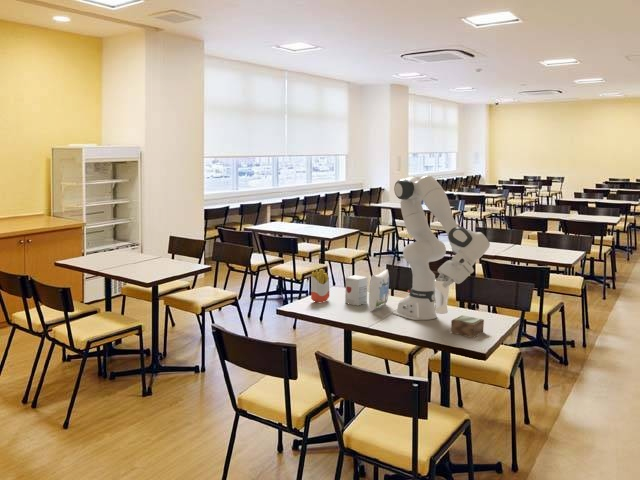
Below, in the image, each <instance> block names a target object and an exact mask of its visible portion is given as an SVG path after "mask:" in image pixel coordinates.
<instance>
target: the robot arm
mask: <svg viewBox="0 0 640 480" xmlns="http://www.w3.org/2000/svg"><path fill="white" fill-rule="evenodd" d="M393 187H394V188H393V191H394V194H395V197H396V198H397V199H399V200H400V203H399V204H400V211H401V215H402V216H401V217H402V218H403V223H404V225H405V229H406V232H407V234H408V235H410V236H411V237H413V239H414V240H415V241H414V242H411V243H408V244H407V245H405V246H404V248H403V252H402V255H403V258H404V260H405V261H406V262H407V263H408V265H409V266H410V269H411V273H412V287H411V288H410V289H407V293H409V294H408V295H407V296H405V297H404V298H402V299H401V300H400V301H399V302H398V304H397V309H394V310H393V311H392V314H393V315H395V316H399V317H402V318H406V319H409V320H412V321H418V320H419V321H420V320H421V321H422V320H423V321H425V320H428V321H429V320H433V319H436V318H437V313H435V312H434V309H435V298H434V279H436V274H435V273H434V272H433V270H431V269H430V263H432V262H436V261H439V260H442V259H443V258H444V257H445V255H446V253H447V247H446V245H445V243H444V242H442V241H441V240H440V239H438V237H436V235H435V233H434V232H433V231H432V229H431V227H430V226H429V223H428V219H427V217H426V214H425V211H424V208H423V205H422V202H423V204H424V205H425V206H426V208H427V209H428V210H429V212H430V213H431V214H432V215H433V216H434V217H435V218H436V220H437V221H438V222H439V223H440V225H441V226H442V227H443V230H444V231H445V233H446V234H447V238H448V242H449V245H450V247H451V251H452V252H453V254H454V256H452V258H451V259H449V260H446V261H445V262H444V263H442V264H441V265H440V266H439V267H438V269H437V272H438V273H439V275H438V277H437V278H446V279H448V281H446V282H444V283H443V284H442V286H443V287H445V288H446V287H447V286H448V285H449V286H450V285H452V284H454V283H455V284H456V285H459V284H460V285H461V284H462V283H463V282H464V281H465V280H466V279H467V278H468V277H470V275H471V274H473V273H474V272H475V269H474V267H473V266H474V265H475V263H476V262H477V261H478V260H479V259H480V258H481V257H483V256H484V254H485V253H486V252H487V251H488V249H489V248H490V245H491V244H490V241H489V238H488V237H487V236H486V235H485V234H484V233H483V232H481V231H472V230H469V229H467V228H465V227H463V226H459V225H458V224H457V222H456V220H455V219H454V216H453V212H452V209H451V205H450V202H449V198H448V196H447V193H446V191H445V190H444V188H443V187H442V185H441V184H440V183H439V182H438V181H437V180H436V179H435V177H433V176H432V175H416V176H412V177H406V178H401V179H398V180H396V182H395V184H394V186H393Z"/></svg>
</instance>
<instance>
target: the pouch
mask: <svg viewBox="0 0 640 480" xmlns="http://www.w3.org/2000/svg"><path fill="white" fill-rule="evenodd" d="M389 287H390V275H389V270H388V268H387V269H385V270H383V271H382V272H380V273H378V274H376V275H375V274H372V275H371V277H370V280H369V293H368V304H369V306H368V308H369V311H370V312H373V311H374V310H376V309H377V308H379V307H380V306H382V305H386V304H387V303H388V301H389V300H388V299H389V289H390V288H389Z"/></svg>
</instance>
